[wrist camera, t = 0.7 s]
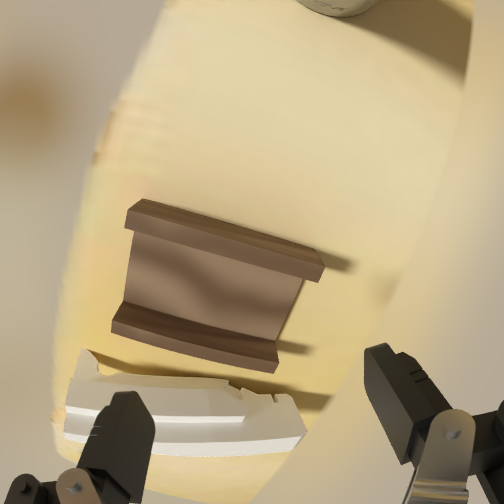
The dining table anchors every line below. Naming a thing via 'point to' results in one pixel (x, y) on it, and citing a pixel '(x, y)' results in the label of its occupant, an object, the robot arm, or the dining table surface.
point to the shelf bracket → (187, 412)
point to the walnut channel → (209, 286)
